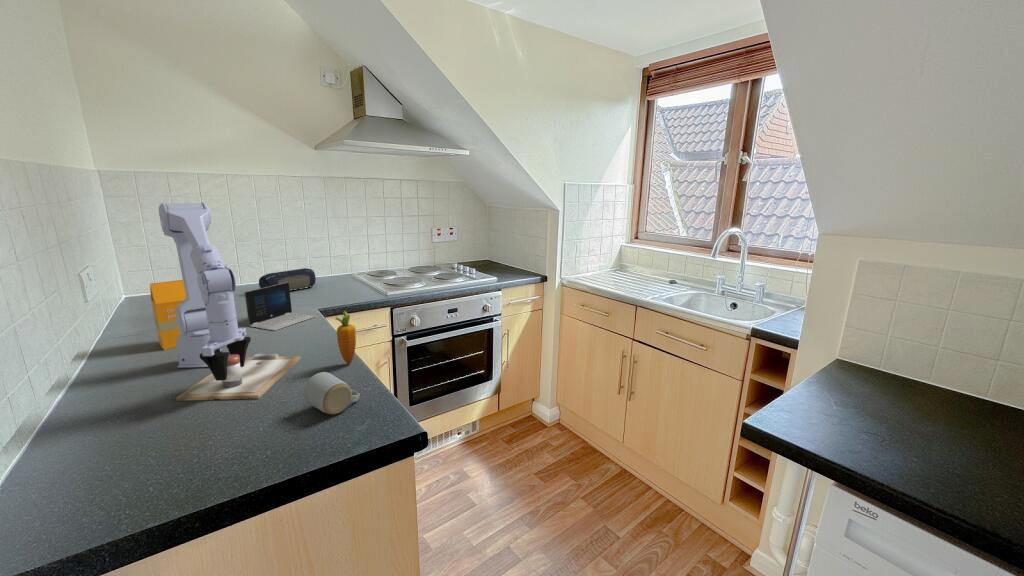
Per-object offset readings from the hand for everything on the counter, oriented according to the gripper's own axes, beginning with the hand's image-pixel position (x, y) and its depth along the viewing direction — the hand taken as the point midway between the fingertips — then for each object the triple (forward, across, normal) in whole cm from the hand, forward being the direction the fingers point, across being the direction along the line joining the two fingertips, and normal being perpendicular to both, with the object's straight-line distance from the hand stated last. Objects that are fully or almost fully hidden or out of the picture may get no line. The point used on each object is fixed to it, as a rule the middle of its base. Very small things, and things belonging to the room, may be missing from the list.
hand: (230, 373), depth 103 cm
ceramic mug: (+4, -11, -28) cm, 30 cm away
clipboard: (+4, +6, 0) cm, 7 cm away
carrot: (+4, +13, -24) cm, 28 cm away
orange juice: (+4, +33, +34) cm, 48 cm away
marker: (+3, 0, 0) cm, 3 cm away
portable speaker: (+4, +105, +30) cm, 110 cm away
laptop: (+4, +54, +12) cm, 56 cm away
